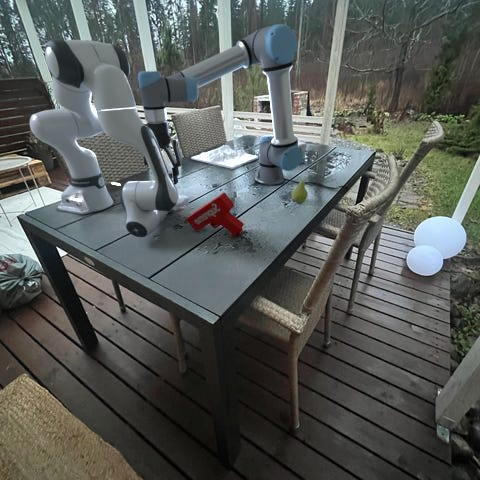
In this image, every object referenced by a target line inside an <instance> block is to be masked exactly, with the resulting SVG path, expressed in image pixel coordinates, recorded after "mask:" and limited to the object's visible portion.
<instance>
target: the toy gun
mask: <svg viewBox="0 0 480 480" xmlns="http://www.w3.org/2000/svg"><path fill="white" fill-rule="evenodd" d="M234 207H235V203H234V202H233V201H232V199H231V198H230V197H229V196H228V194H227V193H226V192H222V193H221V194H219V195H218V196H216V197H214V198H213V199H211V200H210V201H208V202H207V203H205V204H204V205H202V206H201V207H200V208H198V209H197V210H195V211H193V212H192V213H190V215H189V216H188V217H187V218H186V221H187V223H188V224H189V225H190V226H191V228H192V229H193V231H197V232H198V231H200V230H202V229H203V228H205V227H207V226H208V225H210V226H211V228H212V229H217V228H219V227H220V226H221V227H223V228H224V229H225V230H226V231H227V232H229V234H231V237H232V238H234V237H235V236H240V235H241V233H242V231H243V230H244V229H243V227H244V225H245V223H244V222H243V221H241V220H240V219H239V218H237V217H236V216H235V215H234V214H233V213H232V212H231V210H232V209H233V208H234Z"/></svg>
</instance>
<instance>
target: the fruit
mask: <svg viewBox="0 0 480 480" xmlns="http://www.w3.org/2000/svg"><path fill="white" fill-rule="evenodd" d="M310 177H311V175H310V174H309V175H308V176H307V177H305V179H302V180H301V181H299V182H300V183H297V185H296V186H295V187H294V188H293V190H292V191H291V198H292V200H293V201H294V202H295V203H297V204H301V203H304V202H305V201H306V200H307V198H308V196H309V195H308V190H307V189H306V183H305V182H306V180H308V179H309V178H310Z"/></svg>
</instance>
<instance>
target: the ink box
mask: <svg viewBox="0 0 480 480" xmlns="http://www.w3.org/2000/svg"><path fill="white" fill-rule="evenodd" d="M307 144H308V143H307V142H303V141H298V146H299V147H301V149H302V150H303V159H302V161H303V162H301V163H300V164H299V165H301V164H303V163H305V161H306V154H307V153H306V152H307V146H308V145H307ZM304 160H305V161H304Z"/></svg>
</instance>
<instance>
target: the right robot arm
mask: <svg viewBox="0 0 480 480" xmlns="http://www.w3.org/2000/svg"><path fill="white" fill-rule="evenodd" d="M297 51H298V37H297V35H296V32H295V31H294V29H292V28H291V26H289V25H287V24H283V23H277V24H273V25H269V26H265V27H261V28H259V29H257V30H255V31H254V32H252V33H251V34H248V35H247V36H245V37H243V38H242V39H240V40H238V41H236V45H234V46H232V47H230V48H228V49H226V50H223V51H221V52H219V53H217V54H215V55H213V56H210V57H209V58H206V59H205V60H202V61H200V62H198V63H196V64H194V65H191V66H189V67H187V68H185V69H183V70H180V71H179V72H176V73H174V74H171V75H168V76H166V77H163V76H162V73H161V72H160V71H159V70H144V71H143V70H141V71H139V72H138V74H137V79H138V88H139V92H140V97H141V103H142V107H143V108H142V109H143V115H144V120H145V122H146V123H145V126H146V127H148V128H150V129H151V130H152V132H153V134H154V136H155V138H156V140H157V143H158V145H159V148H160V150H163V151H164V152H165V153H166V155H167V157H168V159H169V161H170V163H171V165H172V167H171V172H172V176H173V177H172V181H173V183H174V185H175V186H176V185H178V183H179V178H178V177H179V175H180V169H179V168H180V167H181V166H183V164H184V162H183V159H182V154H181V151H180V147H179V139H178V138H172V137H171V135H170V129H169V123H168V122H167V121H168V116H167V115H168V114H167V108H166V103H168V104H169V103H191V102H196V101H198V98H199V88H201V87H203V86H205V85H208V84H210V83H212V82H214V81H216V80H218V79H220V78H222V77H225V76H226V75H228V74H231V73H233V72H235V71H237V70H239V69H241V68H244V69H247V68H250V67H252V66H255V65H256V66H257V65H261V69H262V73H263V74H264V75H265V76H266V77H267V78H266V79H267V88H268V95H269V103H270V112H271V120H272V129H273V134H266V135H262V136H260V138H259V143H258V145H259V153H258V156H259V158H258V167H257V171H256V172H255V173H254V175H255V178H254V181H255V183H258V184H259V185H262V186H263V185H264V186H279V185H281V184H283V183H284V181H286V182H291V183H295V184H299V183H300V182H301V181H296V180H292V179H288V178H285V175H284V172H283V171H286V172H292V171H294V170H296V169H297V168H298V167H300V165H301V164H302V163H301V162H302V159H303V150H302V149H301V147H299V146H298V143H299V139H298V136H297V135H296V134H294V133H295V132H294V122H293V121H294V119H293V118H294V117H293V106H292V91H291V78H290V72H291V70H292V68H293V67H294V64H293V59H294V58H295V57H296V56H295V55H296V54H297ZM170 143H171V145H170ZM171 146H172V147H171ZM171 148H172V149H173V150H172V149H171ZM300 163H301V164H300ZM143 164H144V165H145V166H148V167H149V165H148V163H147V160H146V158H145V156H144V155H143ZM150 174H151V175H152V173H151V172H150ZM305 184H311V185H312V184H313V185H318V186H321V187H323V188H326V189H331V190H336V189H338V188H334V186H333V187H332V186H327V185H324V184H322V183H319V182H313V181H305ZM338 187H340V188H345V189H346V190H349V188H348V186H346V185H339V186H338Z"/></svg>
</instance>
